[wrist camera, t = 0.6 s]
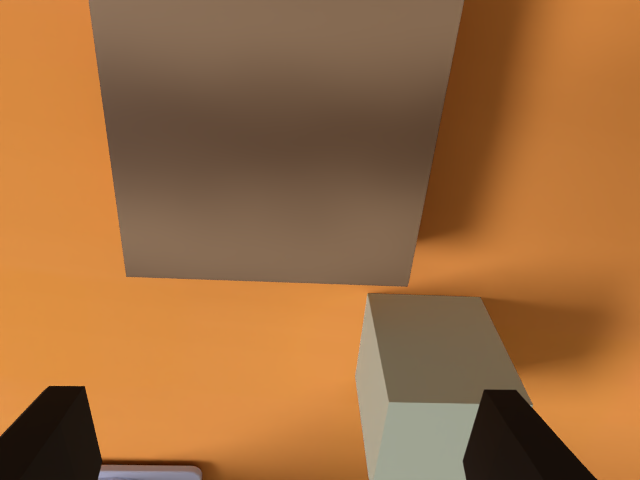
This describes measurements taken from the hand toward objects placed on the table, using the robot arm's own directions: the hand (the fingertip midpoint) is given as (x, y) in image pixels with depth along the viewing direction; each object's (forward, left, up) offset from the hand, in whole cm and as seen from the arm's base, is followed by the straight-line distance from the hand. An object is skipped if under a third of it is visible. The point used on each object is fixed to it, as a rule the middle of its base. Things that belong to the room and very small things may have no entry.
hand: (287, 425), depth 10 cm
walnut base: (+3, +1, -10) cm, 11 cm away
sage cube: (-6, -5, -10) cm, 13 cm away
